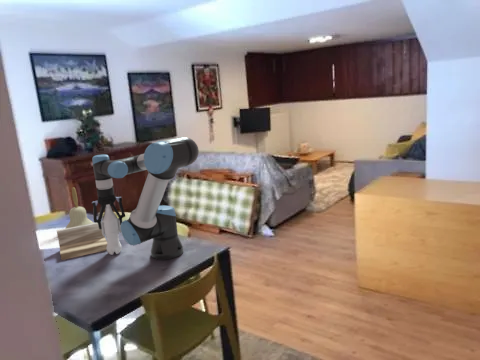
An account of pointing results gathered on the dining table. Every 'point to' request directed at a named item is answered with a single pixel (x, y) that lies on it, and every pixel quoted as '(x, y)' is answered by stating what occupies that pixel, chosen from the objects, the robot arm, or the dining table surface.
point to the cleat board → (81, 240)
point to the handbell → (77, 213)
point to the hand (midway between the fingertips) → (111, 233)
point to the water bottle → (111, 230)
